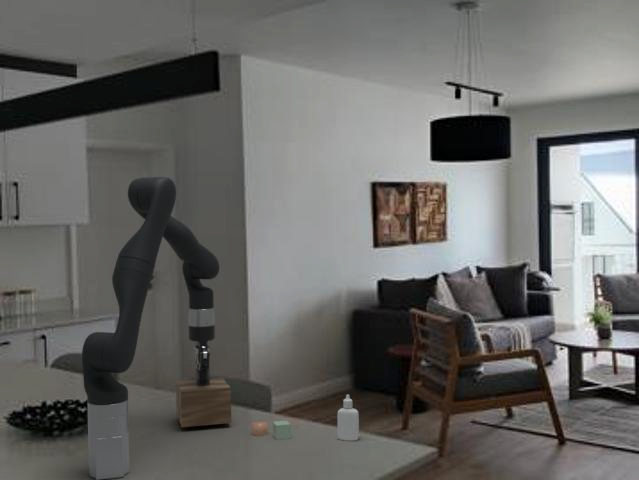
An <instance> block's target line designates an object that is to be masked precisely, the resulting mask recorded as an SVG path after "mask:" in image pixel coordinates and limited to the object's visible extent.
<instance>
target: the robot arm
mask: <svg viewBox="0 0 639 480" xmlns="http://www.w3.org/2000/svg"><path fill="white" fill-rule="evenodd" d="M127 198H128V201H129V205H131V207H132V208H133V210H134V211H135V212H136V213H137V214H138V215H139V216H140V217H141V218H143V219H144V221H143V223H142V225H141V226H140V228H139V229H138V230H137V231H136V232H135V233H134V234H133V235H132V236H131V237H130V239H129V240H128V241H127V242H126V243H125V245H124V246H123V247H122V249H120V251H119V253H118V255H117V258H116V262H115V265H114V269H113V272H112V277H111V281H112V288H113V290H114V291H113V292H114V294H115V297H116V300H117V304H118V309H119V314H118V320H117V325H116V327H115V328H116V329H115V331H114V332H108V331H107V332H106V331H105V332H104V331H96V332H91V333H90V334H89V335H87V336H86V338H85V339H84V342H83V346H82V351H81V360H82V361H81V363H82V376H83V388H84V392H85V394H86V397H87V436H88V437H87V445H88V447H87V448H88V475H89V477H91V478H94V479H95V480H108V479H118V478H123V477H124V476H125V475H126V474H128V473H129V472H130V437H129V436H130V434H129V433H130V432H129V430H130V429H129V425H130V424H129V390H128V387H127V386H126V385H124V384H123V383H121V382H119V381H118V380H117V379H116V378H114V376H113V375H112V373H113V374H123V373H124V372H126V371H128V370H129V369H130V368H131V365H132V363H133V361H134V358H135V355H136V350H137V345H138V341H139V340H138V339H139V332H140V326H141V321H142V315H143V312H144V311H143V310H144V307H145V303H146V299H147V296H148V291H149V288H150V285H151V282H152V278H153V274H154V270H155V266H156V262H157V258H158V255H159V250H160V247H161V244H162V240H163V239H164V240H166V242H167V244H168V245H169V246H170V248H171V249H172V250H173V251H174V253H175V254H176V256H177V257H178V258H179V259H180V260H181V261H182V267H181V268H182V276H183V278H184V280H185V285H186V288H187V292H188V305H189V307H188V309H189V310H188V339H189V341H191V342H196V344H194V349H193V350H194V352H195V353H194V354H195V355H194V359H195V365H196V368H199V378H200V384H207V371H208V370H209V371H210V356H211V353H210V352H211V351H210V349H211V348H210V346H209V345H208V342H209V341H210V342H211V341H214V340H215V338H216V329H215V328H216V325H215V324H216V322H215V321H216V318H215V308H214V305H215V304H214V302H215V301H214V290H213V289H212V288H210V287H207V286H205V285H203V284H202V281H201V280H212V279H215V278H216V277H217V276H218V275H219V273H220V264H219V261H218V258H217V256H215V254H213V253H212V252H211V251H210V250H209V249H208V248H206V246H204V245H203V244H201V243H200V242H199V240H198V239H197V237H196V235H195V234H194V233H193V231H192V230H191V229H190V227H188V226H187V225H186V224H185V223H182V221H180V220H179V219H177V218H175V217H173V216H172V213H173V210H174V208H175V204H176V198H177V188H176V184H175V182H174V181H173V179H172V178H169V177H165V176H153V177H152V176H151V177H148V176H147V177H139V178H135V179H133V180H132V181H131V182H130V184H129V185H128V189H127Z"/></svg>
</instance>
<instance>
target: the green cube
mask: <svg viewBox="0 0 639 480" xmlns="http://www.w3.org/2000/svg"><path fill="white" fill-rule="evenodd" d="M272 436H273V437H274V439H275V438H276V439H282V440H286V439H285V438H291V439H292V423H290V422H289V421H288V420H287V419H286V420H285V419H284V420H275V421H272ZM276 439H275V440H276Z"/></svg>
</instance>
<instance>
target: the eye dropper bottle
mask: <svg viewBox="0 0 639 480" xmlns="http://www.w3.org/2000/svg"><path fill="white" fill-rule="evenodd" d="M342 400H343V404H342V405H343V407H342V408H340V409H338V411H337V419H336V420H337V424H336V425H337V439H338V440H341V441H346V442H347V441H349V442H352V441H358V439H359V438H360V422H359V421H360V419H359V415H360V414H359V411H358V410H357V409H356V408H353V399H351V397H350V394H346V395H345V398H344V399H342Z"/></svg>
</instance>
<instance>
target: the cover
mask: <svg viewBox="0 0 639 480" xmlns="http://www.w3.org/2000/svg"><path fill="white" fill-rule="evenodd" d="M210 374H211V373H210V369H209V370H208V371H207V384H200V378H199V368H197V367H196V368H195V379H186V380H176V381H175V397H176V399H175V400H176V401H175V411H176V412H175V413H176V414H175V415H176V417H177V420H178V421H179V424H180V427H181V428H190V427H197V426H198V427H200V426H210V425H211V426H212V425H221V424H223V425H224V424H232V388H231V386H230V384H228V383H227V380H225V378H224V377H215V378H210Z"/></svg>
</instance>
